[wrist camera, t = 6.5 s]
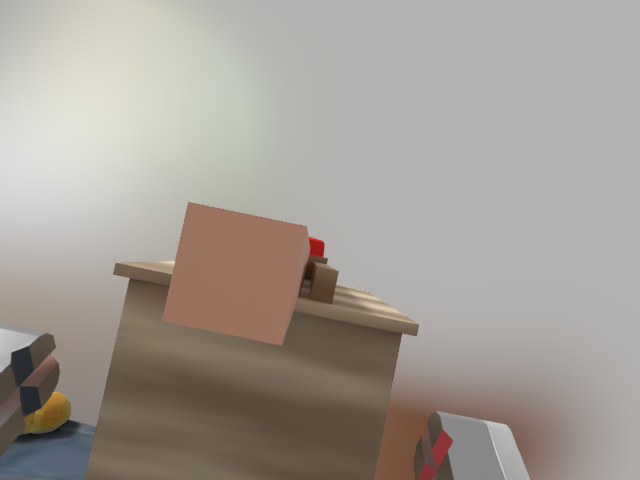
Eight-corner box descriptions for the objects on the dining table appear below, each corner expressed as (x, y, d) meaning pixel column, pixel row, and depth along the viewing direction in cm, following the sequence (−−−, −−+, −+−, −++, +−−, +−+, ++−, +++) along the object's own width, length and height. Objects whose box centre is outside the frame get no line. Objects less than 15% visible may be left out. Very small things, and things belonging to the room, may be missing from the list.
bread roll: (72, 434, 51) (79, 402, 51) (-19, 442, 46) (-11, 407, 46) (65, 406, 58) (71, 378, 58) (-15, 411, 52) (-8, 380, 52)
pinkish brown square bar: (281, 345, 8) (306, 226, 8) (161, 321, 8) (188, 201, 8) (304, 279, 32) (310, 248, 32) (273, 272, 32) (279, 242, 32)
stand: (293, 975, 16) (427, 277, 17) (-33, 915, 16) (126, 216, 17) (302, 603, 33) (370, 267, 34) (146, 573, 33) (219, 236, 34)
